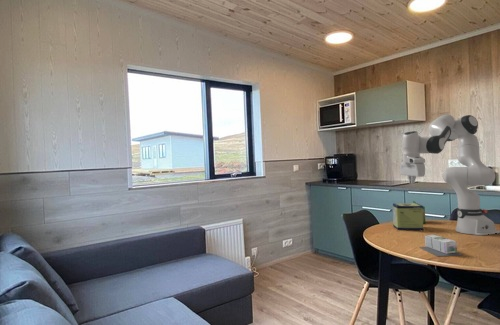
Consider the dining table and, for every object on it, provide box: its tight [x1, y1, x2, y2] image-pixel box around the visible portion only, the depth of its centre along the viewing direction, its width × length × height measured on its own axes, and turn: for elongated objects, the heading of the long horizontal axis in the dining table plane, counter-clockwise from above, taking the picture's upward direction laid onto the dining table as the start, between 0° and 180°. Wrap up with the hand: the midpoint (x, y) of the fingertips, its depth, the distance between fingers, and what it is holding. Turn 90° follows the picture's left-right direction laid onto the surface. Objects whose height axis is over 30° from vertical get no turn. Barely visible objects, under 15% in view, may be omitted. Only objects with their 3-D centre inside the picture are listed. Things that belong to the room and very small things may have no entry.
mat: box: [419, 246, 463, 257], centre depth 156 cm, size 12×15×1 cm
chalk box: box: [412, 200, 426, 224], centre depth 222 cm, size 9×9×15 cm
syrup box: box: [424, 234, 458, 254], centre depth 157 cm, size 6×6×14 cm
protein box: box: [392, 202, 424, 231], centre depth 205 cm, size 10×16×16 cm
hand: (411, 183), depth 182 cm, fingers closed
